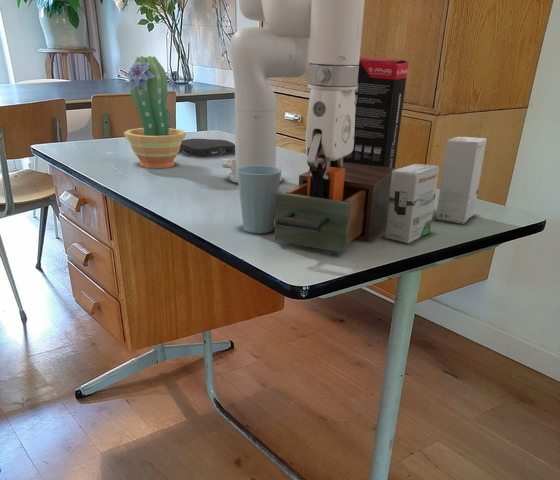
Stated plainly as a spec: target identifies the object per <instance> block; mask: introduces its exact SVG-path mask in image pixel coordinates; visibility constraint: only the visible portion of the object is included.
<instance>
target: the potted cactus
mask: <svg viewBox="0 0 560 480" xmlns="http://www.w3.org/2000/svg"><path fill="white" fill-rule="evenodd" d="M125 78H128V82H129V83H128V84H129V90H130V95H131V97H132V99H133V101H134V103H135V105H136V107H137V110H138V114H139V119H140V121H141V125H142V127H138V128H132V129H131V128H130V129H126V130H125V131H123V134H124V138H125V139H126V140H127V141H128V142H129V145H130V147H131V150H132V152H133V153H134V154H135V156H136V157H137V159H139V166H140V167H143V168H147V169H166V168H172V167H174V166H175V165H176V163H175V161H174V160H175V159H176V157H177V155H178V154H179V153H180V152H179V150H180V146H181V142H182V140H185V138H186V131H184V130H182V129H178V128H171V127H169V119H168V112H167V99H168V75H167V73H166V70H165V69H164V67H163V66H162V64H161V62H159V60H158V59H157V58H156V56H154V55H153V56H151V55H148V56H146V57H145V56H142V55H141V56H137V57H136V58H135V60H134V62H133V64H132V66H130V67H129V71H128V72H127V73H126V76H125Z"/></svg>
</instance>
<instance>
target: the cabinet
mask: <svg viewBox="0 0 560 480" xmlns="http://www.w3.org/2000/svg"><path fill="white" fill-rule="evenodd" d="M322 166H324V165H322ZM343 168H345V175H344V186H349V187H356V188H364V189H369V193H368V203H367V212H366V222H365V231H364V232H362V233H361V234H360V235H359V236H357V237H356V238H355V239H354V240H357V241H363V242H369V241H370V240H372V238H374V237H375V236H377V234H379V233H380V232H381V231H382V230H383V229H385V228H386V224H387V215H388V206H389V198H390V188H391V179H392V171H393V170H396V169H398V168H396V167H395V168H388V167H380V166H371V165H363V164H354V163H346V162H343ZM306 182H308V171H305V172H303V173H301V174H299V175H298V186H300V185H302V184H304V183H306Z"/></svg>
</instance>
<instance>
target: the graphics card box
mask: <svg viewBox="0 0 560 480" xmlns="http://www.w3.org/2000/svg"><path fill="white" fill-rule="evenodd" d="M408 70H409V62H408V61H407V60H404V59H397V58H396V59H395V58H383V57H382V58H380V57H366V56H365V57H364V56H360V59H359V72H358V84H357V90H355V132H354V148H353V151H352V152H351V153H350V154H349V155H347V156H345V157H344V160H343V162H346V163H354V164H363V165H371V166H380V167H388V168H396V161H397V154H398V148H399V147H398V146H399V137H400V131H401V123H402V115H403V108H404V100H405V93H406V85H407V78H408V72H409V71H408ZM319 158H325V155H319ZM319 164H322V165H324V164H325V163H321V162H319Z"/></svg>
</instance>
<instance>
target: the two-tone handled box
mask: <svg viewBox="0 0 560 480" xmlns="http://www.w3.org/2000/svg"><path fill="white" fill-rule="evenodd" d="M307 190H308V182H306V183H304V184H302V185H300V186H299V185H298V186H296V187H294V188H292V189H290V190H288V191H286V192H282V191H279V192H278V193H276V199H275V222H274V241H275V242H279V243H286V244H292V245H296V246H297V245H298V246H302V247H303V246H304V247H309V248H313V249H314V248H315V249H318V250H319V249H320V250H325V251H326V250H327V251H332V252H337V253H342V254H344V253H346V252H347V250H348V249H347V247H348V245H349V244H350V243H351V242H353V240H356V239H355V238H356V237H357V236H359V235H360V234H361V233H362V232H364V231H365V222H366V212H367V203H368V193H369V189H364V188H356V187H349V186H344V188H343V200H342V201H339V200H332V199H325V198H318V197H311V196H307Z"/></svg>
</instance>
